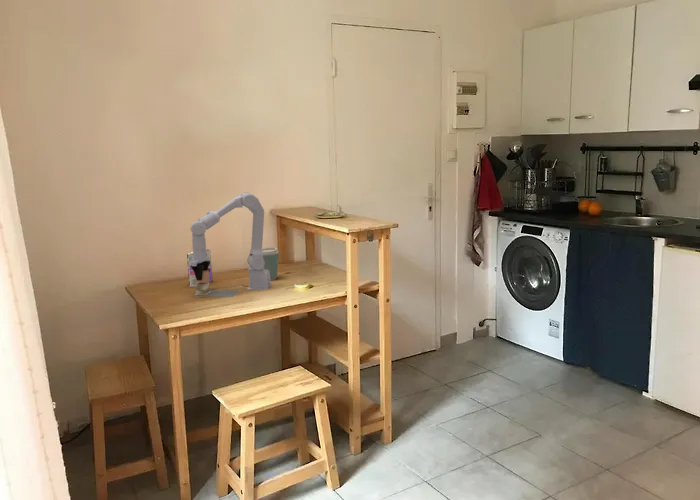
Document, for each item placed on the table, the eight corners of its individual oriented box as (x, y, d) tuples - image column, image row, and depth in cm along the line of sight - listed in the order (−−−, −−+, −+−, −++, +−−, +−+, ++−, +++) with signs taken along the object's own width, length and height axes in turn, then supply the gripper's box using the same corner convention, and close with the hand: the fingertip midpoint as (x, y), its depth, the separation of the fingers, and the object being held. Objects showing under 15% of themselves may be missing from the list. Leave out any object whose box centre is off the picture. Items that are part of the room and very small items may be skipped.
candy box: (200, 288, 275) (197, 253, 272) (188, 287, 276) (186, 253, 273) (213, 281, 288) (210, 248, 285) (201, 281, 289) (199, 248, 286)
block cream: (209, 291, 265) (209, 282, 264) (205, 294, 260) (205, 284, 260) (200, 291, 266) (199, 281, 265) (196, 294, 261) (195, 284, 260)
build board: (241, 291, 266) (241, 290, 266) (232, 298, 255) (232, 296, 255) (201, 291, 269) (201, 289, 269) (191, 297, 258) (191, 296, 258)
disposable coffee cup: (271, 282, 282) (269, 251, 280) (254, 280, 288) (252, 249, 285) (284, 277, 291) (283, 247, 289) (267, 275, 297) (266, 246, 294)
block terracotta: (209, 280, 264) (208, 270, 263) (205, 282, 259) (204, 272, 259) (199, 280, 264) (199, 270, 264) (195, 282, 260) (194, 272, 259)
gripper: (197, 245, 267) (199, 275, 269) (183, 251, 253) (186, 282, 255) (212, 245, 266) (214, 275, 268) (199, 251, 252) (201, 282, 254)
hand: (201, 278), depth 262 cm, fingers closed on block terracotta, 4 cm apart
